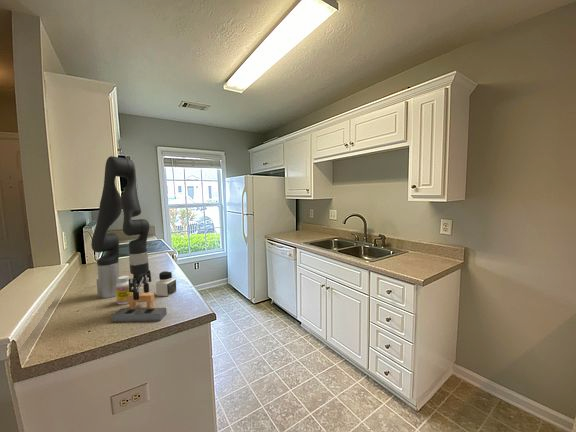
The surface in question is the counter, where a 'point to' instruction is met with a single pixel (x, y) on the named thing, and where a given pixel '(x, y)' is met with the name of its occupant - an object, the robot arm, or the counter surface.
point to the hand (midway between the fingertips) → (141, 295)
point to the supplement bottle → (122, 290)
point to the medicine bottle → (165, 284)
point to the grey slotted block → (139, 314)
